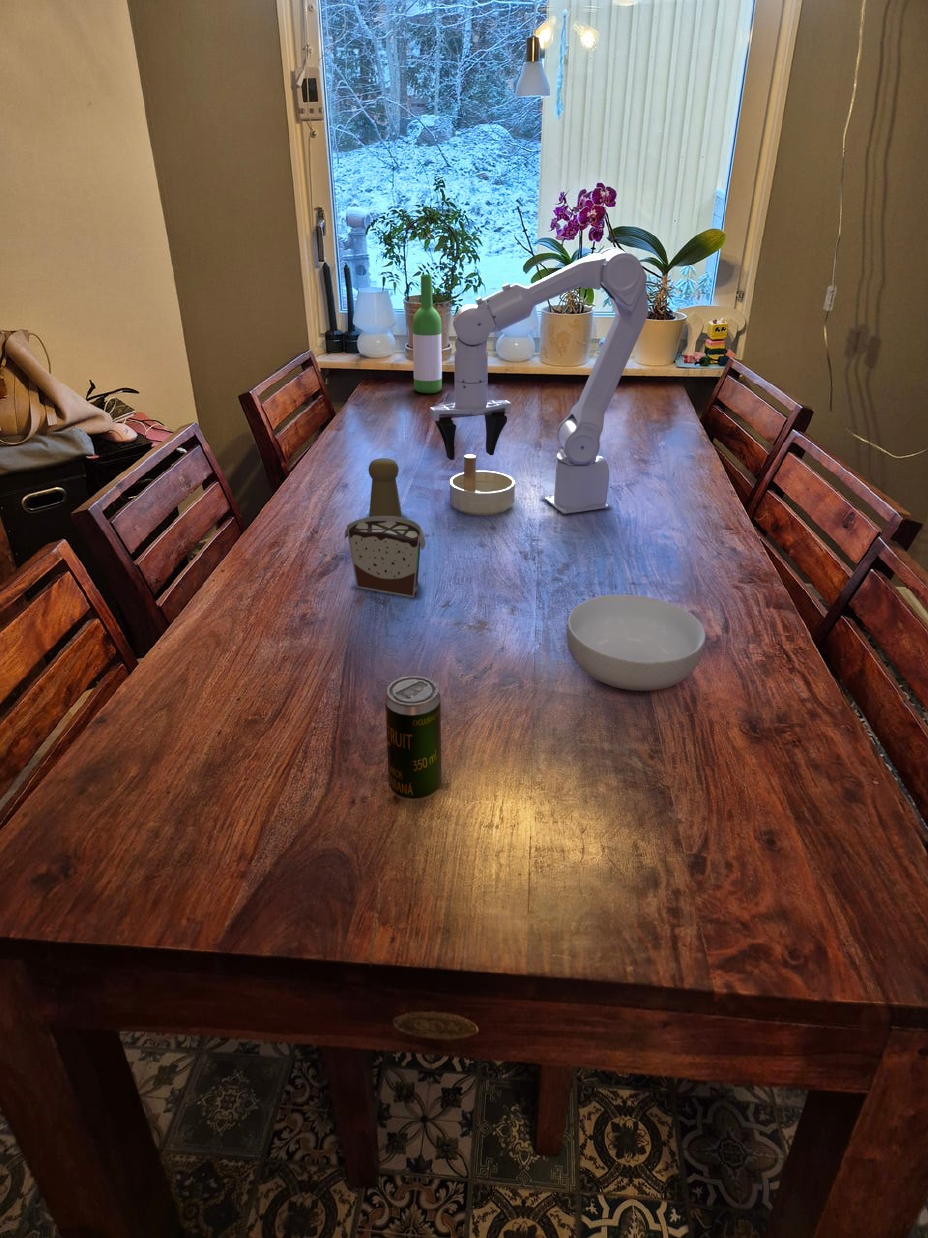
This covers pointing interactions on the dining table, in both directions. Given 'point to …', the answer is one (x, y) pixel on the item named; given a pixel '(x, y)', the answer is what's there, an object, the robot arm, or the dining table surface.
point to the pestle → (470, 473)
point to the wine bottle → (427, 342)
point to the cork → (384, 488)
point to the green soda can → (413, 738)
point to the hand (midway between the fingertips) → (470, 455)
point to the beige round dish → (483, 493)
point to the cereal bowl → (635, 641)
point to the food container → (386, 554)
